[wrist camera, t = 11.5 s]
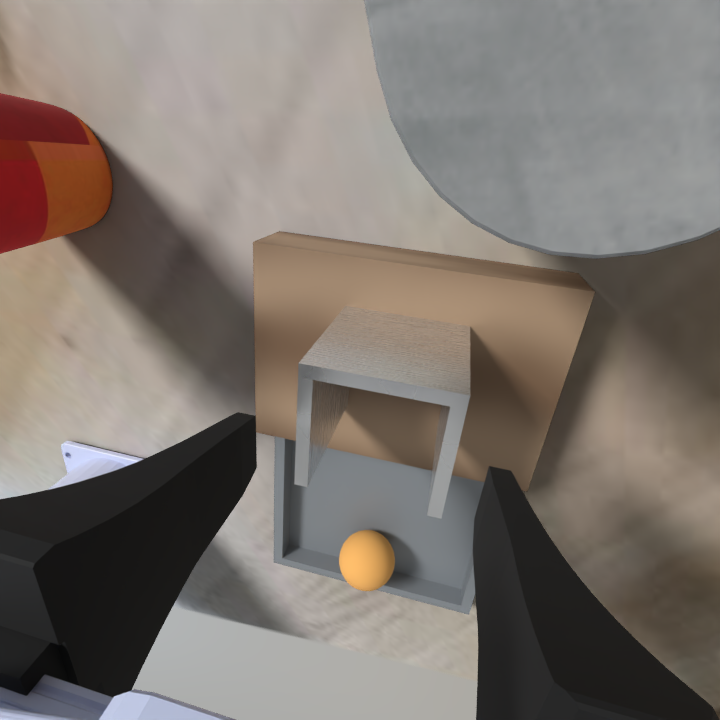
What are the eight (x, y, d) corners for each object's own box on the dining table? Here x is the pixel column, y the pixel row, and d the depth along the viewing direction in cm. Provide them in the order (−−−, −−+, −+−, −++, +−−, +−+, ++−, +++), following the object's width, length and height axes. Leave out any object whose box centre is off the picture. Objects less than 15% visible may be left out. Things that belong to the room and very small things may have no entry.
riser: (520, 454, 24) (527, 491, 21) (277, 403, 26) (255, 432, 23) (578, 273, 19) (595, 291, 17) (279, 231, 22) (253, 242, 19)
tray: (468, 592, 29) (468, 614, 28) (282, 543, 31) (273, 562, 30) (510, 456, 24) (512, 475, 23) (285, 409, 26) (275, 424, 25)
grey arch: (448, 425, 21) (441, 518, 15) (337, 402, 21) (294, 484, 16) (470, 326, 18) (470, 395, 13) (345, 305, 19) (298, 363, 14)
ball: (401, 537, 26) (400, 540, 29) (345, 520, 26) (351, 525, 29) (385, 601, 24) (387, 596, 27) (327, 581, 25) (335, 579, 28)
